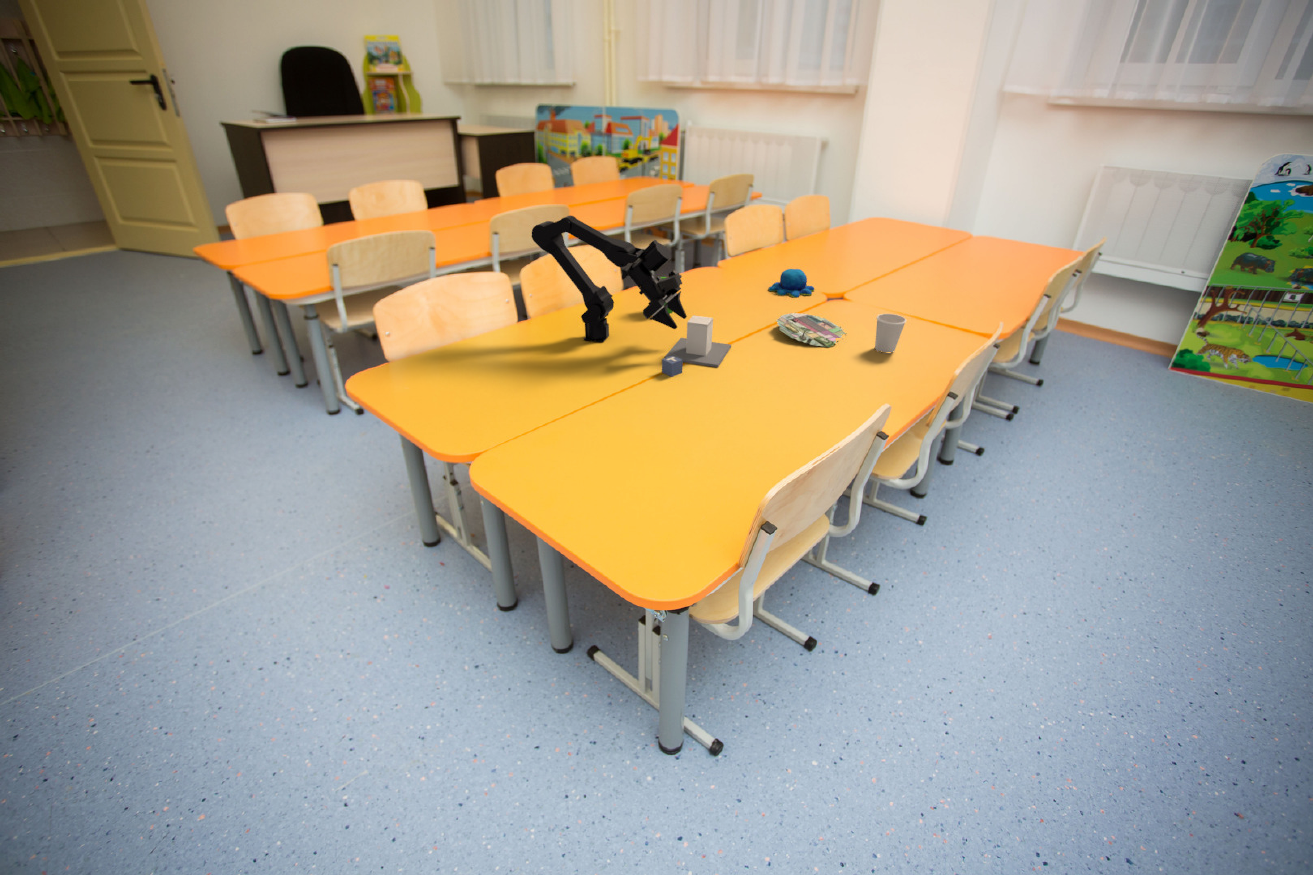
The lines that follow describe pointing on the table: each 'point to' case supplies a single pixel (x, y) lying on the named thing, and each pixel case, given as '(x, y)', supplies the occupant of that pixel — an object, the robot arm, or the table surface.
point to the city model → (810, 329)
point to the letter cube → (672, 366)
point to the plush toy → (792, 284)
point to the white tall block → (699, 335)
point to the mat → (710, 359)
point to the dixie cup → (888, 331)
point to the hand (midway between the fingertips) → (681, 323)
